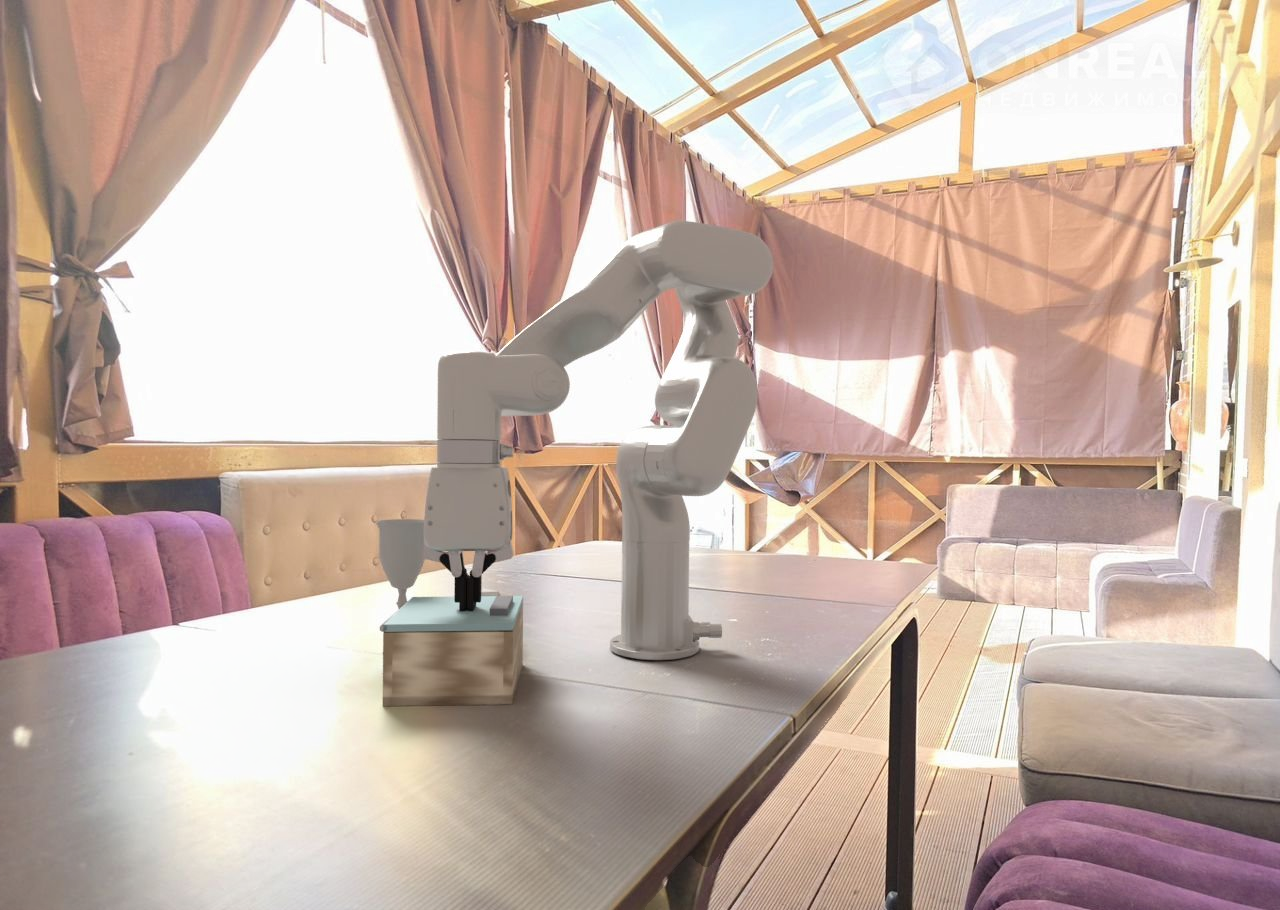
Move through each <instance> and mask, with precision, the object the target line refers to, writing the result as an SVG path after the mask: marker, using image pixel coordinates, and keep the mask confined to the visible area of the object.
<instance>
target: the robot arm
mask: <svg viewBox="0 0 1280 910" xmlns="http://www.w3.org/2000/svg"><path fill="white" fill-rule="evenodd" d="M773 272H774V259H773V255H772V252H771V250H770V248H769V246H768V245H767V243H766V242H765V241H764V240H763V239H762V238H760V237H759V236H757V235H755V234H754V233H751V232H750V231H749V232H748V231H746V230H745V231H744V230H740V229H734V228H729V227H723V226H719V225H714V224H713V225H712V224H708V223H702V222H695V221H689V220H675V221H669V222H667V223H665V224H662V225H659V226H656V227H653V228H650V229H647V230H645V231H641V232H639V233H637V234H635V235H633V236H631V237H630V238H628V239H627V240H626V241H625V242H624V243H623V244H621V245H620V246H619V247H618V248H617V249H616V251H614V252H613V253H612V254H611V255H610V256H609V257H608V258H607V259H606V260H605V261H604V262H602V264H601V265H600V266H599V267H598V268H597V269H596V270H595V271H594V272H593V273H591V275H590V276H589V277H587V279H585V280H584V281H583V282H582V283H581V284H580V285H579V286H578V287H577V288H576V289H574V290H573V291H572V293H570V294H569V295H567V296H565V298H563V299H562V300H561V301H559V302H558V303H556V304H555V305H554V306H553V307H551V308H550V309H549V310H547V311H546V312H545V313H544V314H543V315H541V316H539V318H537V319H536V320H534V321H533V322H532V323H531V324H529V325H528V326H527V327H525V328H524V329H522V331H521V332H519V333H518V334H517V335H516V336H514V338H512V339H511V340H510V341H509V342H508V343H507V344H506V345H505V346H504V347H502V348H501V350H499V352H497V353H496V354H493V353H491V352H486V351H477V350H456V351H454V350H453V351H448V352H446V353H444V354H442V355H441V357H440V358H439V360H438V363H437V408H436V409H437V411H436V412H437V416H436V419H437V421H436V422H437V424H436V425H437V427H436V428H437V429H436V430H437V431H436V432H437V433H436V435H437V436H436V438H437V439H436V445H437V446H436V452H437V453H436V466H432V467H431V468H430V473H429V478H428V481H427V482H428V484H427V490H426V497H425V498H426V499H425V509H424V519H423V520H424V543H425V545H424V549H423V553H422V557H423V558H424V559H425V560H429V561H432V562H435V563H440V564H441V565H443V567H444V568H446V569H447V570H448V571H449V572H450V573H451V575H452V577H454V594H453V595H454V596H453V597H454V600H455V603H459V611H464V610H466V609H467V610H469V611H473V610H474V609H475V607H476V602H481V588H482V583H483V581H482V578H483V577H482V575H483V574H484V573H485V572H486V571H487V570H489V568H490V567H491V566H492V565H493V564H494V563H499V562H503V561H507V560H511V559H512V558H513V557H514V556H515V553H514V548H513V544H512V543H513V542H512V540H513V502H512V501H513V498H512V488H511V487H512V485H511V480H510V474H509V469H508V467H506V466H505V467H502V463H503V461H504V459H508V458H514V446H508V445H505V444H504V443H503V441H502V417H519V416H522V417H523V416H525V417H527V416H528V417H529V416H540V415H542V416H543V415H546V414H549V413H552V412H553V411H555V410H557V409H558V408H559V407H561V406H562V405H563V404H564V402H565V401H566V399H567V398H568V395H569V392H570V386H571V384H570V377H569V375H568V372H567V370H566V369H565V367H567V366H568V365H569V364H571V363H573V362H574V361H576V360H578V359H581V358H583V357H585V356H587V355H590V354H593V353H595V352H597V351H600V350H601V349H603V348H605V347H607V346H608V345H610V344H612V343H613V342H615V341H617V340H618V339H620V338H621V336H623V334H625V332H626V331H627V330H628V329H629V328H630V327H632V326H631V325H633V324H634V323H635V322H636V321H637V320H638V318H640V316H641V315H642V314H643V313H644V312H645V311H646V310H647V309H648V308H649V307H650V306H652V304H653V303H654V302H655V301H656V300H657V299H658V298H659V297H660V296H661V295H662V294H663V293H665V292H666V291H669V290H673V289H674V291H675V294H676V297H677V299H678V301H679V304H680V308H681V311H682V314H683V330H682V334H681V336H680V338H679V341H678V343H677V346H676V347H675V350H674V352H673V353H672V356H671V358H670V360H669V362H668V364H667V366H666V368H665V370H664V372H663V375H662V377H661V379H660V381H659V383H658V386H657V388H656V391H655V392H656V393H655V398H654V405H655V409H656V412H657V414H658V416H660V418H661V419H662V420H663V421H665V422H667V423H669V424H661V425H660V424H659V425H656V424H655V425H647V426H642V427H639V428H636V429H634V430H632V431H631V432H630V433H628V434H627V435H626V436H625V437H624V438H623V440H622V442H620V445H619V447H618V449H617V454H616V462H615V463H616V474H617V480H618V486H619V492H620V497H621V498H620V500H621V512H622V513H621V514H622V519H621V520H622V523H621V524H622V528H621V529H622V530H621V531H622V535H621V536H622V537H621V538H622V539H621V598H620V599H621V600H620V601H621V602H620V603H621V609H620V610H621V611H620V612H621V613H620V614H621V617H620V619H621V621H620V634H618V635H616V636H613V637H612V638H611V639H610V642H609V649H610V650H611V652H612V653H614V654H616V655H618V656H621V657H625V658H629V659H636V660H646V661H669V660H679V659H685V658H688V657H691V656H693V655H696V654H697V653H698V652H699V651H700V642H699V641H700V638H708V639H712V638H713V639H722V637H723V628H722V627H723V626H722V624H721V623H711V622H710V621H702V622H698V621H694V620H693V619H692V617H691V616H690V614H689V609H690V608H689V603H690V602H689V601H690V599H689V595H690V594H689V593H690V590H689V589H690V539H691V538H690V537H691V536H690V535H691V530H690V529H691V527H690V526H691V525H690V518H689V513H688V509H687V505H686V503H685V500H684V498H683V496H685V497H701V496H702V497H703V496H707V495H709V494H711V493H714V492H715V491H716V490H718V489H719V488H720V487H721V486H722V484H723V483H724V482H725V480H726V479H727V477H728V475H729V474H730V472H731V469H732V467H733V464H734V463H735V461H736V458H737V456H738V453H739V452H740V449H741V446H742V444H743V443H744V441H745V437H746V435H747V434H748V431H749V428H750V426H751V423H752V421H753V419H754V416H755V414H756V410H757V405H758V401H759V400H758V397H759V393H758V392H759V391H758V382H757V379H756V376H755V374H754V372H753V370H752V369H751V367H750V366H749V365H748V364H747V363H745V361H743V360H741V359H739V358H736V357H735V356H736V353H737V351H738V347H739V342H740V340H739V338H740V337H739V331H738V328H737V327H738V326H737V325H736V322H735V319H734V317H733V315H732V312H731V310H730V307H729V305H728V302H727V301H728V300H732V299H738V298H742V297H748V296H750V295H753V294H756V293H758V292H760V291H761V290H763V289H764V288H765V287H766V286H767V284H768V283H769V282H770V280H771V277H772V275H773ZM464 552H474V554H473V562H472V568H471V570H470V571H469V573H468V569H467V568H466V566H465V565H466V564H465V561H464Z"/></svg>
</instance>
